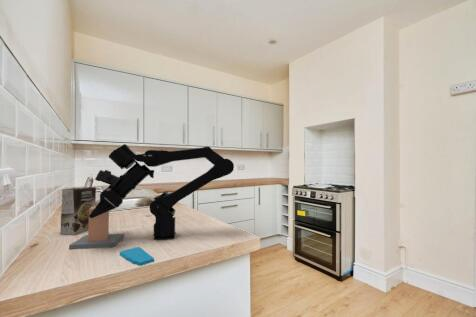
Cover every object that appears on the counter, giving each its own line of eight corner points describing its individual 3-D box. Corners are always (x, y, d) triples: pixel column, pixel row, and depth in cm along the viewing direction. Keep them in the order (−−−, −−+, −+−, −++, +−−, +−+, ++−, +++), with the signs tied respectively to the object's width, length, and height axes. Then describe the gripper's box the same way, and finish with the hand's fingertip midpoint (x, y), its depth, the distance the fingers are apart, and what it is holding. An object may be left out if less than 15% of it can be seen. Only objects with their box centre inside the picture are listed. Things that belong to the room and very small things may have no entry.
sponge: (131, 265, 54) (155, 256, 58) (117, 251, 63) (139, 244, 67) (131, 272, 54) (155, 262, 58) (118, 256, 64) (140, 249, 67)
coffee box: (74, 235, 80) (76, 189, 81) (59, 234, 81) (61, 188, 82) (95, 228, 89) (96, 187, 90) (81, 227, 90) (82, 186, 91)
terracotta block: (108, 235, 76) (109, 205, 76) (106, 240, 71) (107, 207, 72) (90, 237, 74) (91, 206, 74) (88, 242, 69) (88, 209, 70)
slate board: (124, 236, 79) (124, 233, 79) (113, 246, 69) (113, 242, 69) (85, 238, 77) (85, 234, 77) (69, 249, 67) (69, 245, 67)
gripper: (115, 162, 84) (78, 193, 79) (110, 161, 67) (62, 201, 62) (138, 183, 87) (103, 215, 82) (139, 187, 70) (96, 227, 65)
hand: (92, 214), depth 72 cm, fingers open, 9 cm apart
